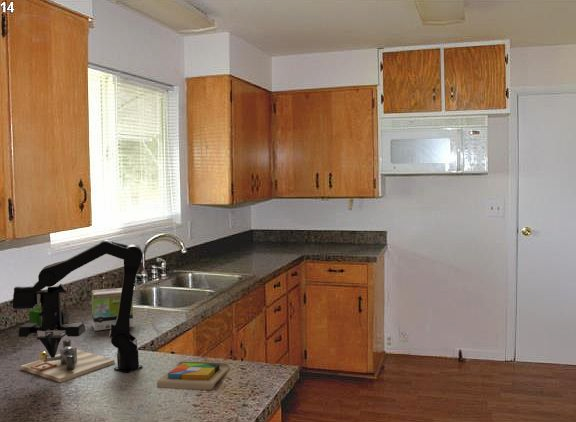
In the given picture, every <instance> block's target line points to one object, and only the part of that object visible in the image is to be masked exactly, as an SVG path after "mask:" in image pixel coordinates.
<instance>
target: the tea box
mask: <svg viewBox="0 0 576 422" xmlns="http://www.w3.org/2000/svg"><path fill="white" fill-rule="evenodd" d="M121 291H122V287H118V288H105V289H92V290H91V316H92V317H91V322H92V323H91V325H92V327H93V330H94V332H96V331H102V330H103V331H104V330H111V320H113V321H116V319H117V316H118V312H119V305H120V298H121ZM133 300H134V299H133V298H132V305H131V311H130V318H129V319H130V328H133V327H134V307H133V305H134V304H133V303H134V302H133Z"/></svg>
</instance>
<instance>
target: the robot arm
mask: <svg viewBox="0 0 576 422" xmlns="http://www.w3.org/2000/svg"><path fill="white" fill-rule="evenodd" d="M104 255H109V256H112V257H114V258H118V259H120V260H121V259H122V260H123V278H122V279H123V280H122V286H121V288H122V291H121V298H120V305H119V312H118V316H117V319H116V321H113V320H111V329H109V334H108V335H109V337H108V338H109V339H110V342H111V344H112V346H113V347H115V348H117V349H116V351H117V353H116V358H117V359H116V360H117V366H115V367H114V368H113V370H115V371H118V372H122V373H127V374H128V373H132V372H133V371H136V370H139V369H142V368H143V367H144V366H143V365H142V364H139V360H140V359H139V349H138V339H137V337H135V336H134V335H133V334H131V327H130V319H129V318H130V311H131V305H132V298H133V296H134V291H135V290H134V289H135V282H136V277H137V274H138V271H139V269H140V266H141V263H142V261H143V256H144V255H143V251H142V249H141V247H140V245H138V244H134V243H131V244H124V243H119V242H114V241H111V240H109V239H103V240H102V241H100V242H99V243H96V244H95V245H93V246H91V247H89V248H88V249H85V250H83V251H81V252H80V253H78V254H76V255H72V256H71V257H70V258H68V259H65V260H61V261H58V262H54V263H50V264H48V265H46V266H44V267H43V268H41V270H40V272H39V274H38V275H37V276H38V277H37V278H38V279H37V281H36V282H35V283H33V285H32V286H15V287H13V296H12V302H11V303H12V308H13V310H14V311H15V310H16V311H17V310H18V311H19V310H31V309H35V307H36V306H39V304H40V303H41V312H40V313H39V316H41V324H42V325H41V326H39V325H38V323H30V322H27V323H24V324H22V325H21V326H20V327H19V328H18V329H17V337H19V338H27V337H29V336H30V335H31V334H33V333H35V334H37V336H36V340H39V341H40V342H41V344H42V345H43V346H44V348H45V349H46V351H47V353H48V356H49V357H51V358H54V357H55V355H57V351H58V349H59V345H60V342H61V340H62V338H64V337H65V336H66V337H67V338H68V337H71V338H72V337H80V336H81V335H83V334H84V333H85V332H86V326H85V324H84V323H83V322H71V323H70V324H69V322H70V321H69V320H70V313H67V312H64V309H63V307H62V304H61V303H62V301H61V293H66V292H67V290H68V288H67V287H66V286H64V284H62V283H60V282H61V281H62V280H63V279H65V278H66V277H67V276H68V275H70V274H71V272H73V271H75V270H78V269H79V268H81V267H83V266H85V265H87V264H89V263H91V262H93V261H95V260H97V259H99V258H102V256H104ZM57 283H60V284H59V285H58V286H55V285H56V284H57ZM46 287H47V289H45V288H46ZM39 299H40V300H39ZM39 301H40V303H39ZM64 325H65V326H64Z"/></svg>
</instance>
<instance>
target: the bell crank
mask: <svg viewBox="0 0 576 422" xmlns="http://www.w3.org/2000/svg"><path fill="white" fill-rule="evenodd" d="M77 350H78V349H77V347H74V346H72V343H71V340H70V339H64V340H63V341H62V349H60V350H59V354H60V356H55V357H54V358H51V356H49V353H48V351H47V352H46V351H41V352H39V353H38V360H42V361H44V362H48V361H55V360H61V364H66V367H67V370H68V371H71V370H74V369H75V362H77Z"/></svg>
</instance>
